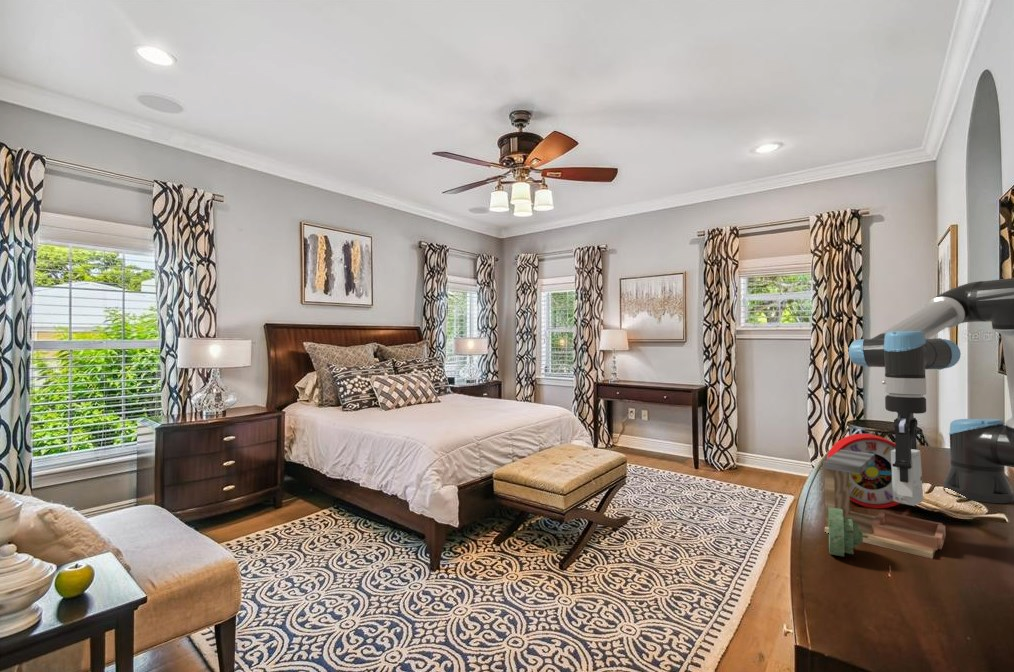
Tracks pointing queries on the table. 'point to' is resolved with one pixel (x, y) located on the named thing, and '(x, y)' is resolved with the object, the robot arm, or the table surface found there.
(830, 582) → the table surface
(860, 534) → the decorative artifact
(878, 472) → the toy clock
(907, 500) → the skincare box
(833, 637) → the table surface
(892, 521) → the awning stand
